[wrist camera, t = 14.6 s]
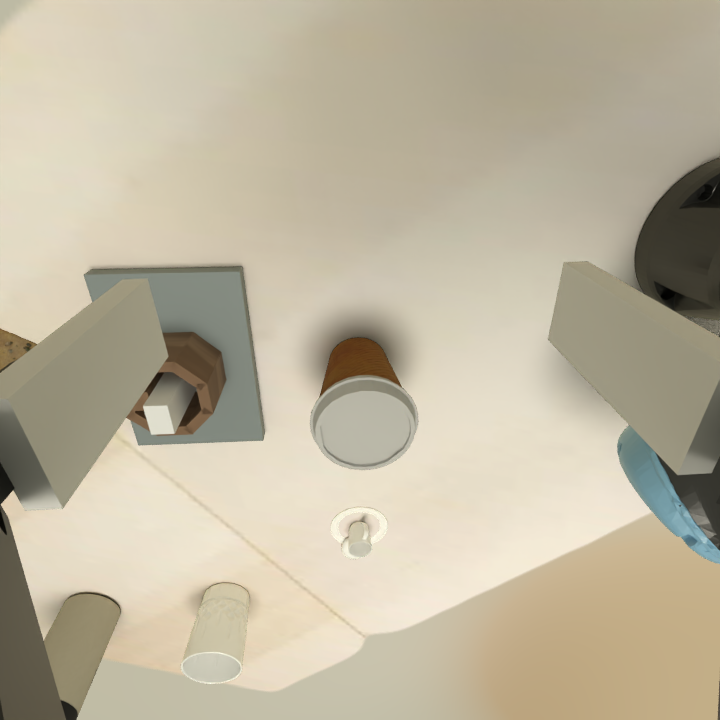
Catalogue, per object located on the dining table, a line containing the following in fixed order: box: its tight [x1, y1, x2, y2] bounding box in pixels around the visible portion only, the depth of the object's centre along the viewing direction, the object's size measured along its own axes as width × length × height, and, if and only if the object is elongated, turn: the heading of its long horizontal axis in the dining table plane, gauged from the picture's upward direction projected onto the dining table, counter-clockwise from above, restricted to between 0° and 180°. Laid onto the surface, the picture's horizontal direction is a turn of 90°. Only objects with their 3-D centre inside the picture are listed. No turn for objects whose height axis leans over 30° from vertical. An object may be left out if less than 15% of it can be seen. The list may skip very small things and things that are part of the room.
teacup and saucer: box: [330, 507, 388, 559], centre depth 59 cm, size 9×8×4 cm
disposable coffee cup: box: [310, 338, 418, 470], centre depth 43 cm, size 10×10×12 cm
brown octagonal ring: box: [126, 332, 227, 436], centre depth 42 cm, size 8×8×6 cm
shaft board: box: [84, 267, 265, 445], centre depth 42 cm, size 14×20×10 cm
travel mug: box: [44, 594, 120, 720], centre depth 58 cm, size 8×8×18 cm
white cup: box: [181, 583, 250, 684], centre depth 62 cm, size 8×8×10 cm
